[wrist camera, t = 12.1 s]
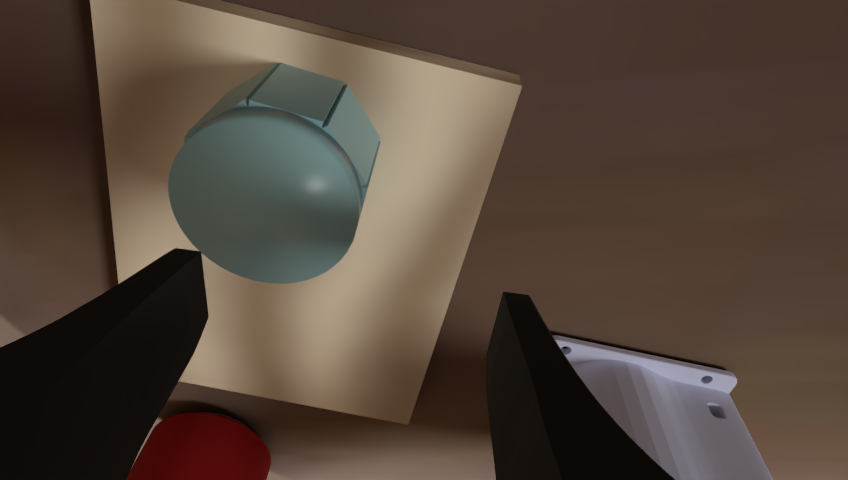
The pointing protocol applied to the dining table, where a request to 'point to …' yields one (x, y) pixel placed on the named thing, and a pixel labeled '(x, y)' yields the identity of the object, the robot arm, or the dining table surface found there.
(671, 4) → the dining table surface
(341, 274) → the stud plate
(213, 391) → the dining table surface
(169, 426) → the beverage can
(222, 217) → the cap
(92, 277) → the dining table surface
